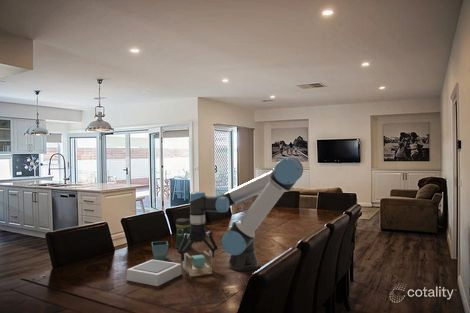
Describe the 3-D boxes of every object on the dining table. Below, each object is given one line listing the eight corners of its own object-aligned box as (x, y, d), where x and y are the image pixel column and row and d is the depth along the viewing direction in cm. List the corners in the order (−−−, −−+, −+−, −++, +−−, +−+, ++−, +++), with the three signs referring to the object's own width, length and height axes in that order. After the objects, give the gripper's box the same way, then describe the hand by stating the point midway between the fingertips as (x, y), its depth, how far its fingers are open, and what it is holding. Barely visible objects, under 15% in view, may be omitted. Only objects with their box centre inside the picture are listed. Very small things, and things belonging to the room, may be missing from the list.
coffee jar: (193, 247, 225) (193, 218, 225) (185, 250, 218) (185, 220, 218) (182, 245, 230) (181, 216, 230) (173, 248, 223) (173, 218, 223)
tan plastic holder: (204, 266, 185) (204, 250, 185) (212, 273, 174) (212, 256, 174) (184, 269, 181) (184, 252, 181) (190, 276, 170) (190, 259, 170)
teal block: (201, 262, 181) (201, 254, 181) (204, 265, 176) (204, 257, 176) (191, 263, 179) (191, 255, 179) (194, 266, 174) (194, 258, 174)
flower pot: (152, 262, 194) (152, 245, 194) (151, 257, 203) (151, 242, 203) (168, 260, 197) (168, 244, 197) (167, 256, 205) (167, 240, 205)
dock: (181, 274, 174) (181, 263, 174) (157, 286, 158) (157, 274, 158) (152, 269, 182) (152, 258, 182) (126, 280, 166) (126, 268, 166)
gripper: (218, 220, 186) (218, 260, 186) (171, 223, 177) (171, 266, 177) (223, 222, 179) (223, 264, 179) (174, 226, 170) (174, 271, 170)
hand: (197, 265), depth 178 cm, fingers open, 13 cm apart
